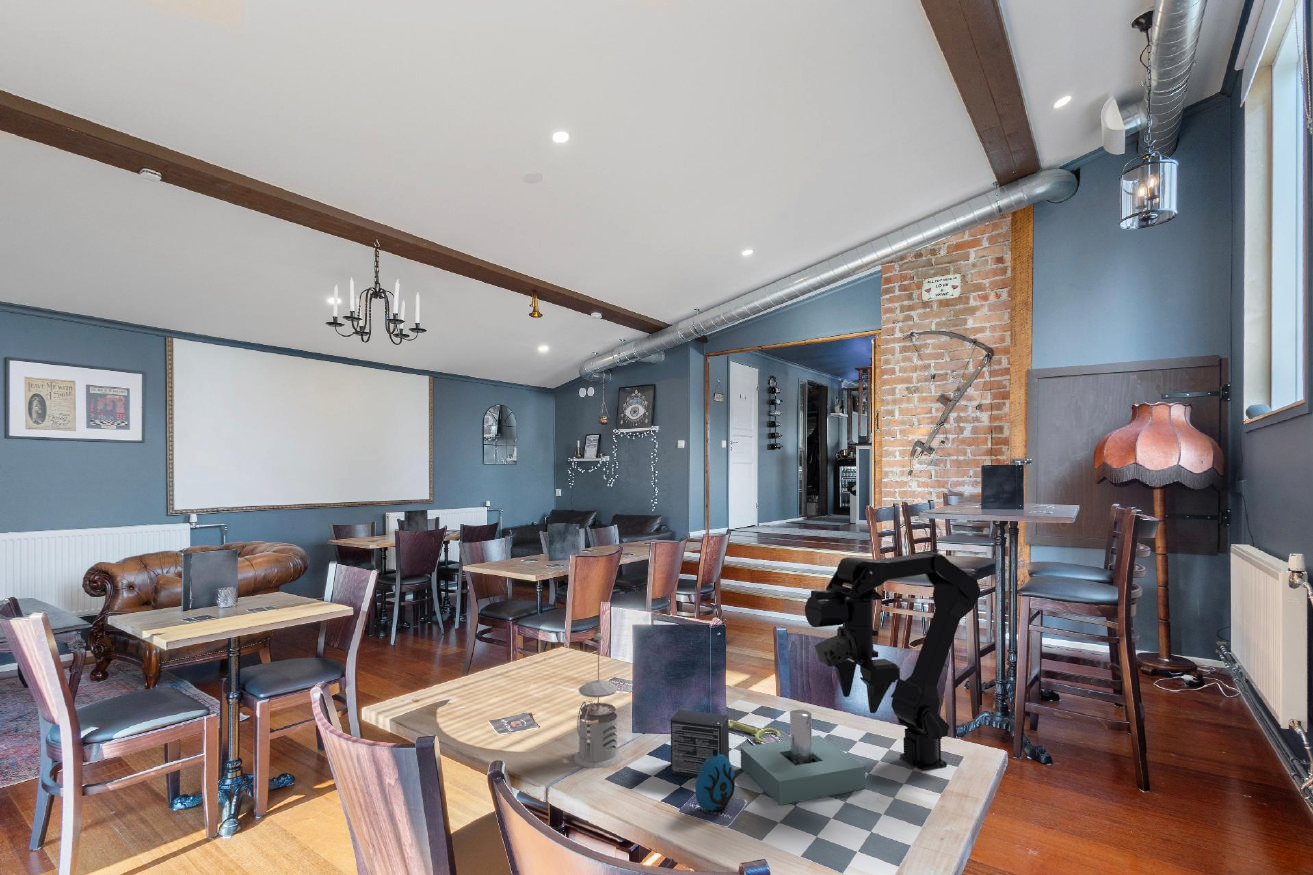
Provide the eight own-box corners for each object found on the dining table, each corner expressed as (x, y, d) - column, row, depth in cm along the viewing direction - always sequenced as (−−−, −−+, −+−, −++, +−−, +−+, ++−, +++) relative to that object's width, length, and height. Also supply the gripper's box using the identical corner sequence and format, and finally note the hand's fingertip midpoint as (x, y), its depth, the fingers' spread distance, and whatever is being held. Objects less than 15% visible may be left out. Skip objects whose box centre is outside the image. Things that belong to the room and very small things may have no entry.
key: (729, 727, 147) (729, 718, 148) (782, 735, 143) (782, 726, 143) (721, 740, 141) (721, 730, 141) (777, 748, 136) (777, 738, 136)
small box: (730, 768, 126) (730, 713, 127) (723, 783, 120) (722, 725, 121) (679, 760, 130) (679, 707, 130) (669, 774, 124) (669, 718, 124)
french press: (630, 751, 134) (630, 630, 135) (602, 775, 123) (603, 643, 125) (589, 743, 138) (590, 625, 139) (559, 765, 127) (560, 638, 129)
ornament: (706, 822, 107) (706, 760, 107) (689, 810, 110) (688, 750, 111) (742, 807, 111) (742, 748, 112) (724, 796, 115) (724, 739, 116)
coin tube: (811, 774, 124) (811, 710, 124) (812, 783, 120) (811, 717, 121) (790, 772, 124) (790, 708, 125) (790, 781, 121) (790, 716, 121)
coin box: (819, 754, 132) (819, 735, 132) (865, 788, 118) (865, 766, 118) (740, 768, 126) (740, 747, 126) (779, 804, 112) (779, 781, 112)
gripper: (798, 615, 133) (799, 692, 132) (847, 637, 115) (848, 726, 114) (845, 612, 136) (847, 687, 135) (901, 633, 118) (902, 720, 117)
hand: (859, 704), depth 125 cm, fingers open, 9 cm apart
